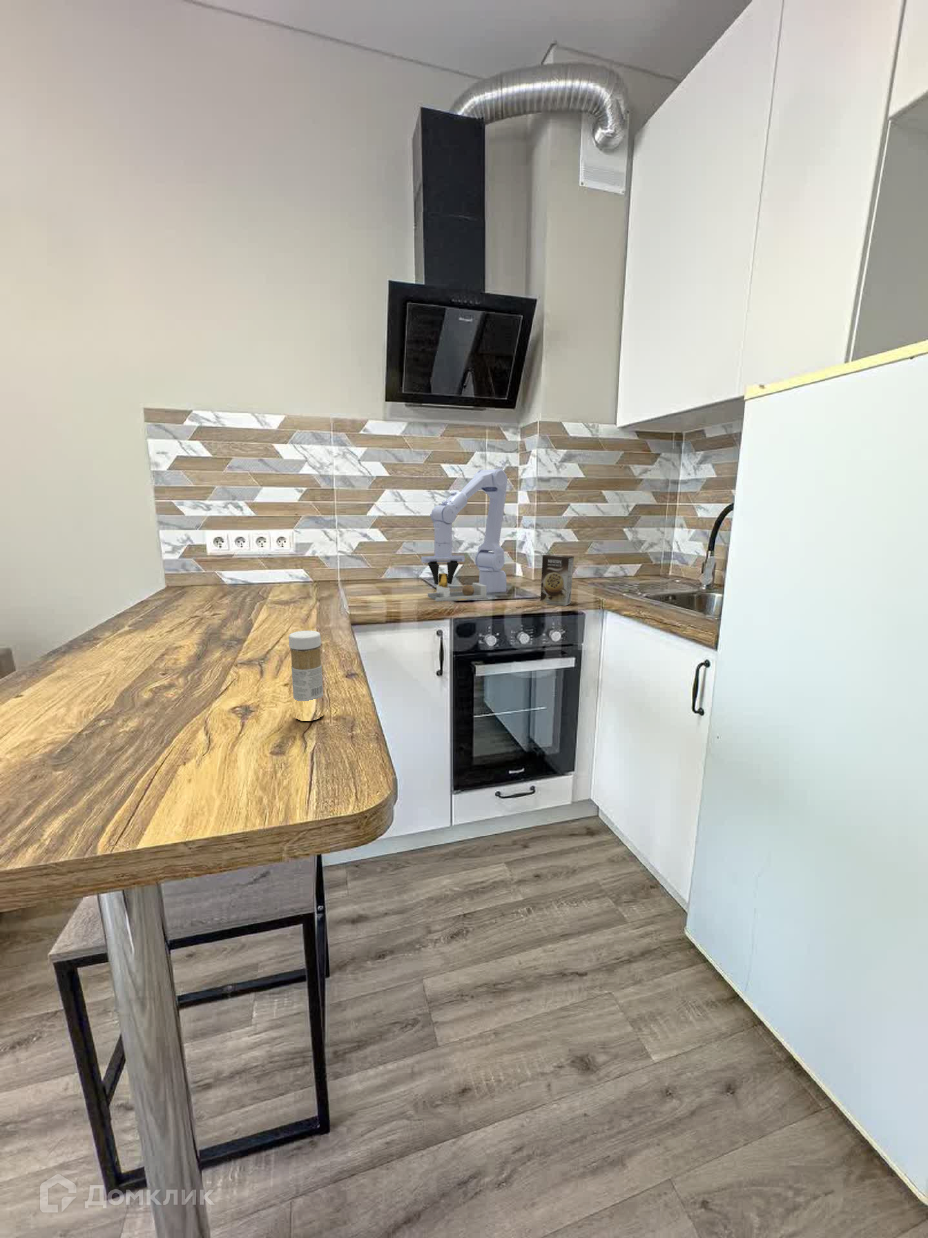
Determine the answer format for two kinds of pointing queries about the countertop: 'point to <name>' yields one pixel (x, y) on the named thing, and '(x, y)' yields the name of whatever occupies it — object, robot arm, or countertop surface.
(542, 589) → the coffee box
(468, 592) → the walnut
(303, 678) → the spice jar
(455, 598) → the cracker base
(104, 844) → the countertop surface
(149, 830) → the countertop surface
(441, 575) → the cracker jaw
